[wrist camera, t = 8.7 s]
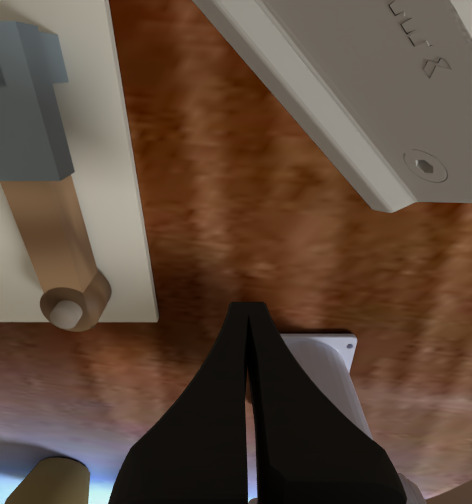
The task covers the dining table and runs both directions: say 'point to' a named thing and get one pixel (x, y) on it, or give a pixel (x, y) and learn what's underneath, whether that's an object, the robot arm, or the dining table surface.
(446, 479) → the dining table surface
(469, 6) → the white rounded block
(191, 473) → the robot arm
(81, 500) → the squeeze bottle
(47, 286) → the link arm
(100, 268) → the keeper board
